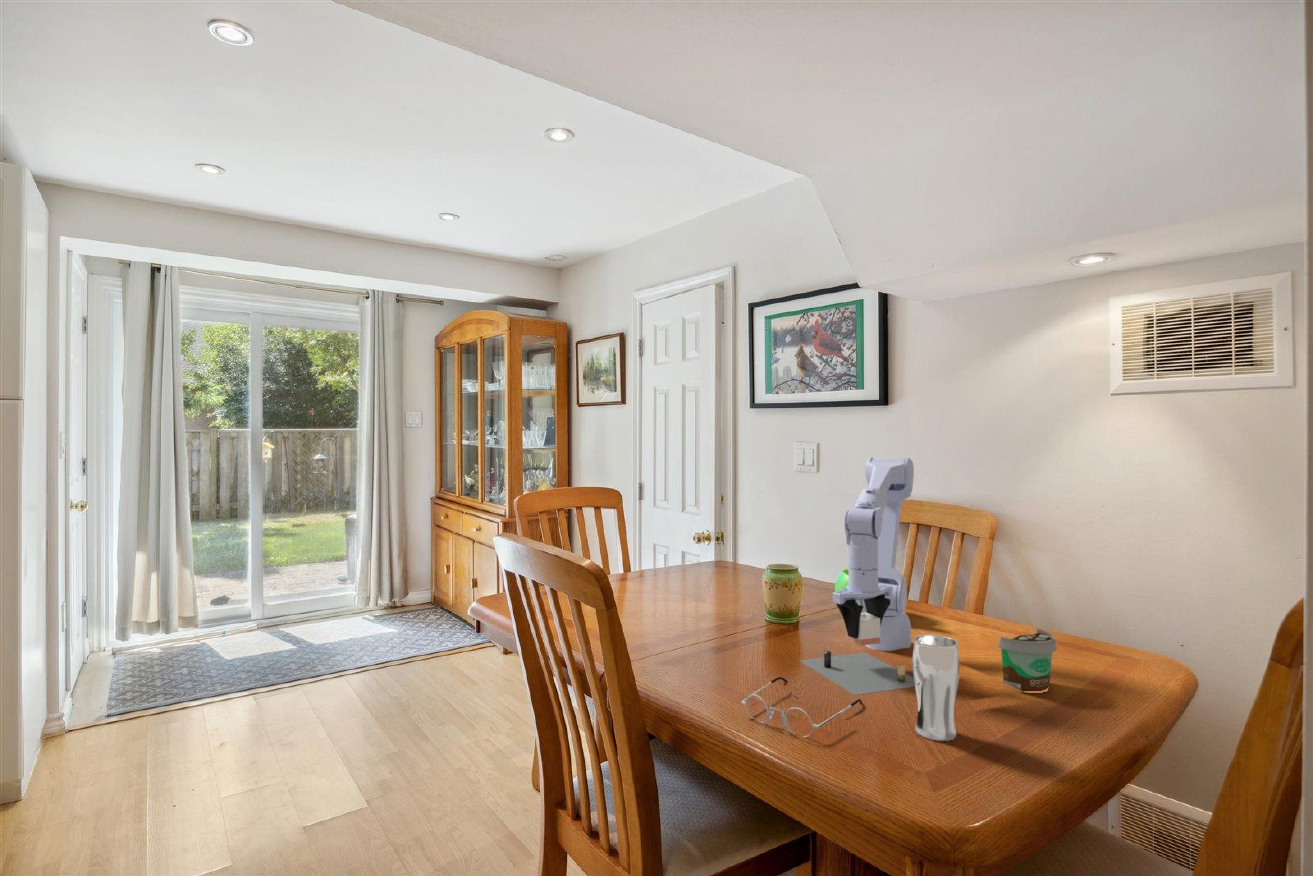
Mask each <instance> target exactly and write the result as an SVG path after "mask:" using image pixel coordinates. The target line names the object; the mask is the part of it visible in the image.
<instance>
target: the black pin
mask: <svg viewBox="0 0 1313 876" xmlns="http://www.w3.org/2000/svg"><path fill="white" fill-rule="evenodd" d="M831 657H832V652H831V650H823V658H824V667H825V668H831Z"/></svg>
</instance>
